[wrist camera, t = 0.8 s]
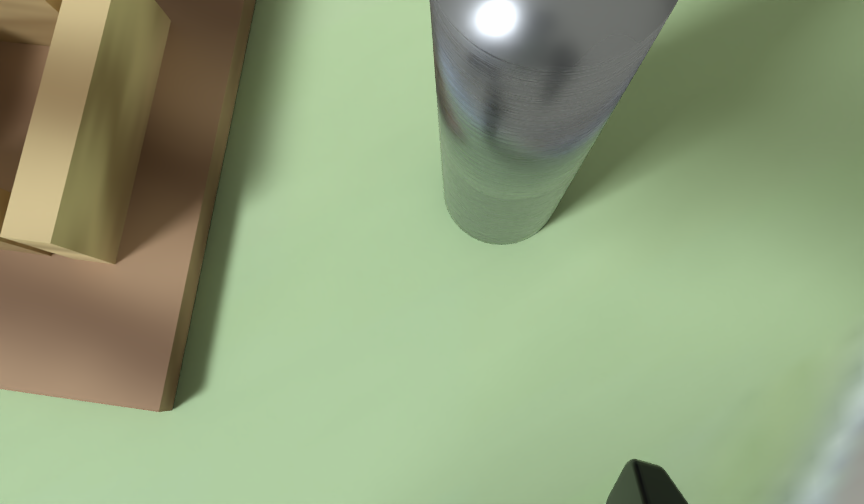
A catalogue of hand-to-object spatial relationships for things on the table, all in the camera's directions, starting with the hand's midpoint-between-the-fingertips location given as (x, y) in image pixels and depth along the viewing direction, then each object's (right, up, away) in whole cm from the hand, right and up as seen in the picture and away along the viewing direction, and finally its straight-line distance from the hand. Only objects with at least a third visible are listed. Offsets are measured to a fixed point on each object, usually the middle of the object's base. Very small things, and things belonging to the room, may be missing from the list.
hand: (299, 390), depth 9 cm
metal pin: (+4, +4, +14) cm, 15 cm away
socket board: (-13, +6, +15) cm, 20 cm away
